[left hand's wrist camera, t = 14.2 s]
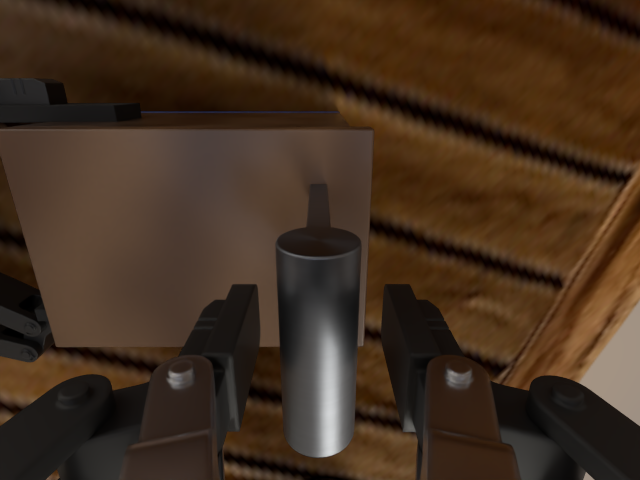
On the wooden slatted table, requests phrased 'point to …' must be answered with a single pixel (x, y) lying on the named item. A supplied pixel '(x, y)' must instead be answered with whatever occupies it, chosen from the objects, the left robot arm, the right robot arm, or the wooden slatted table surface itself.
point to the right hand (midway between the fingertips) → (146, 216)
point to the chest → (216, 120)
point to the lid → (206, 245)
